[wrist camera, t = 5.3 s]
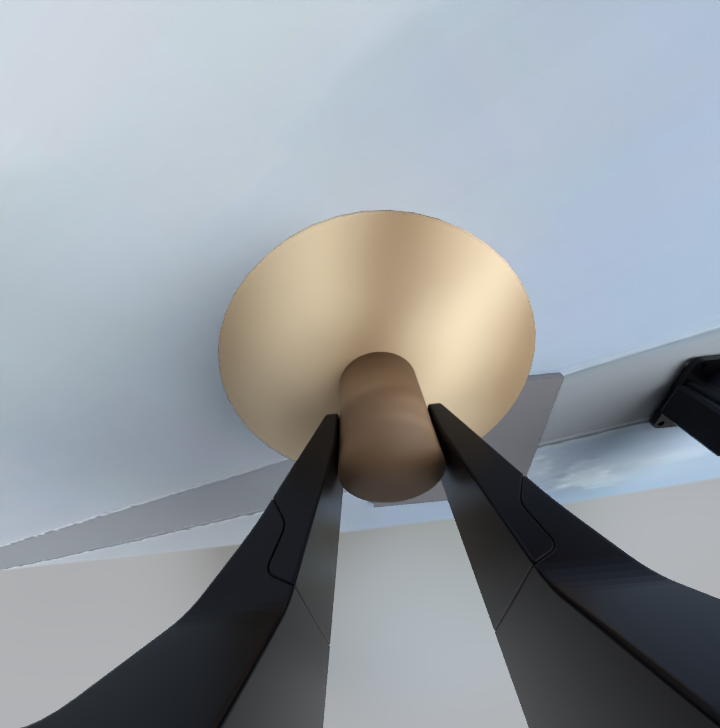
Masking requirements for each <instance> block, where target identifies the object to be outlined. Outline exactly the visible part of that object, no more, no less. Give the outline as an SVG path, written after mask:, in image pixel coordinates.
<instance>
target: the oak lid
mask: <svg viewBox="0 0 720 728" xmlns="http://www.w3.org/2000/svg"><path fill="white" fill-rule="evenodd" d="M534 351H535V325H534V316H533V312H532V309H531V305H530V302H529V299H528V296H527V294H526V292H525V290H524V288H523V286H522V284H521V282H520V280H519V278H518V277H517V276H516V274H515V273H514V272H513V270H512V269H511V268H510V266H509V265H508V264H507V262H506V261H505V260H504V259H503V258H502V257H500V256H499V255H498V254H497V253H496V252H495V251H494V250H493V249H492V248H491V247H490V246H488V245H487V244H485V243H484V242H482V241H481V240H479V239H478V238H476V237H474V236H473V235H471V234H470V233H468V232H466V231H464V230H462V229H460V228H458V227H455V226H453V225H451V224H449V223H446V222H444V221H442V220H439V219H437V218H433V217H429V216H425V215H421V214H417V213H413V212H403V211H393V210H378V211H361V212H356V213H351V214H346V215H341V216H336V217H333V218H330V219H328V220H325V221H322V222H319V223H316V224H314V225H311V226H309V227H308V228H306V229H304V230H302V231H300V232H298V233H296V234H294V235H293V236H291V237H289V238H288V239H287V240H285V241H284V242H283V243H281V244H280V245H278V246H277V247H276V248H274V249H273V250H272V251H271V252H270V253H269V254H268V255H267V256H266V257H265V258H264V259H263V260H262V261H261V262H260V263H259V264H258V265H257V266H256V267H255V268H254V269H253V270H252V271H251V272H250V273H249V274H248V276H247V277H246V278H245V280H244V281H243V283H242V284H241V285H240V287H239V288H238V290H237V291H236V293H235V294H234V296H233V299H232V301H231V303H230V305H229V307H228V309H227V311H226V314H225V317H224V320H223V324H222V327H221V331H220V339H219V348H218V355H219V369H220V374H221V378H222V383H223V386H224V389H225V391H226V394H227V396H228V399H229V401H230V403H231V404H232V406H233V408H234V410H235V411H236V413H237V415H238V416H239V417H240V419H241V420H242V421H243V423H244V424H245V425H246V426H247V427H248V428H249V429H250V430H251V431H252V432H253V433H254V434H255V435H256V436H257V437H258V438H259V439H260V440H261V441H263V442H264V443H265V444H266V445H268V446H269V447H270V448H272V449H273V450H275V451H277V452H278V453H280V454H281V455H283V456H285V457H287V458H289V459H291V460H293V461H295V462H296V461H297V459H298V458H299V456H300V455H301V453H302V451H303V450H304V448H305V447H306V445H307V444H308V442H309V440H310V439H311V437H312V436H313V434H314V433H315V431H316V429H317V428H318V426H319V425H320V423H321V421H322V420H323V418H324V417H325V415H327V414H334V413H337V414H338V415H339V452H338V478H339V481H340V483H341V485H342V486H343V487H344V489H345V490H347V491H348V492H349V493H350V494H352V495H354V496H356V497H358V498H361V499H363V500H367V501H372V502H381V503H389V502H399V501H404V500H408V499H412V498H415V497H417V496H420V495H422V494H424V493H425V492H427V491H429V490H430V489H432V488H433V487H434V486H435V485H436V484H437V483H438V482H439V481H440V480H441V478H442V477H443V475H444V472H445V468H446V462H445V458H444V455H443V452H442V449H441V446H440V443H439V440H438V438H437V435H436V432H435V429H434V426H433V423H432V420H431V417H430V415H429V412H428V405H429V404H432V403H441V404H443V405H444V406H445V407H446V408H447V409H448V410H450V411H451V412H452V413H453V414H454V415H455V416H457V417H458V418H459V419H460V420H461V421H462V422H463V423H465V424H466V425H467V426H468V427H469V428H470V429H472V430H473V431H474V432H475V433H476V434H477V435H479V436H480V437H481V438H482V437H483V436H484V435H486V434H487V433H488V432H489V431H490V430H491V429H492V428H493V427H494V426H496V425H497V424H498V423H499V421H500V420H501V419H502V418H503V417H504V416H505V415H506V413H507V412H508V411H509V410H510V408H511V407H512V405H513V404H514V402H515V401H516V400H517V398H518V396H519V394H520V392H521V391H522V389H523V387H524V385H525V383H526V380H527V377H528V375H529V372H530V369H531V365H532V361H533V356H534Z"/></svg>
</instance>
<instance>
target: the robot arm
mask: <svg viewBox="0 0 720 728" xmlns="http://www.w3.org/2000/svg"><path fill="white" fill-rule="evenodd" d="M428 412H429V415H430V417H431V420H432V423H433V426H434V429H435V432H436V435H437V438H438V440H439V443H440V446H441V449H442V452H443V455H444V458H445V462H446V468H445V472H444V475H443V477H442V478H441V482H442V485H443V488H444V490H445V493H446V496H447V499H448V502H449V504H450V507H451V510H452V513H453V516H454V518H455V521H456V524H457V527H458V529H459V532H460V535H461V538H462V541H463V544H464V546H465V549H466V552H467V555H468V557H469V560H470V563H471V566H472V569H473V571H474V574H475V577H476V580H477V583H478V586H479V589H480V591H481V594H482V597H483V600H484V603H485V605H486V608H487V611H488V614H489V617H490V619H491V622H492V625H493V628H494V630H495V634H496V636H497V639H498V642H499V645H500V648H501V650H502V653H503V656H504V659H505V662H506V664H507V667H508V670H509V673H510V676H511V679H512V682H513V684H514V687H515V690H516V693H517V695H518V698H519V701H520V704H521V707H522V710H523V712H524V715H525V718H526V721H527V724H528V726H529V728H720V599H718V598H715V597H713V596H710V595H708V594H705V593H702V592H700V591H697V590H695V589H692V588H690V587H687V586H685V585H682V584H680V583H677V582H675V581H672V580H670V579H668V578H666V577H664V576H662V575H660V574H658V573H656V572H654V571H653V570H651V569H649V568H648V567H646V566H644V565H643V564H641V563H640V562H638V561H637V560H635V559H634V558H632V557H631V556H629V555H628V554H626V553H625V552H624V551H622V550H621V549H620V548H618V547H617V546H616V545H614V544H613V543H612V542H610V541H609V540H607V539H606V538H604V537H603V536H602V535H601V534H599V533H598V532H597V531H595V530H594V529H592V528H591V527H590V526H588V525H587V524H585V523H584V522H583V521H581V520H580V519H579V518H577V517H576V516H575V515H573V514H572V513H571V512H569V511H568V510H566V509H565V508H564V507H563V506H562V505H560V504H559V503H558V502H556V501H555V500H554V499H552V498H551V497H550V496H549V495H548V494H546V493H545V492H544V491H543V490H542V489H540V488H539V487H538V486H537V485H536V484H534V483H533V482H532V481H531V480H530V479H529V478H527V477H526V476H523V473H521V472H520V471H519V470H518V469H517V468H516V467H514V466H513V465H512V464H511V463H510V462H509V461H508V460H506V459H505V458H504V457H503V456H502V455H501V454H499V453H498V452H497V451H496V450H495V449H494V448H492V447H491V446H490V445H489V444H488V443H487V442H485V441H484V440H483V439H482V438H481V437H480V436H479V435H477V434H476V433H475V432H474V431H473V430H472V429H470V428H469V427H468V426H467V425H466V424H465V423H463V422H462V421H461V420H460V419H459V418H458V417H457V416H455V415H454V414H453V413H452V412H451V411H450V410H448V409H447V408H446V407H445V406H444V405H443V404H441V403H432V404H429V405H428ZM650 424H651V425H652V426H653V427H655V428H664V427H674V426H678V427H680V428H681V429H682V430H684V431H685V432H686V433H688V434H689V435H690V436H692V437H693V438H694V439H695V440H697V441H698V442H699V443H701V444H702V445H703V446H705V447H706V448H707V449H709V450H710V451H711V452H712V453H714V454H715V455H717V456H720V355H716V356H707V357H699V358H696V359H693V360H692V361H691V362H690V363H689V364H688V365H687V367H686V368H685V370H684V371H683V373H682V374H681V376H680V377H679V379H678V380H677V381H676V383H675V384H674V386H673V387H672V389H671V390H670V392H669V393H668V395H667V396H666V398H665V399H664V401H663V402H662V404H661V405H660V407H659V408H658V410H657V411H656V413H655V414H654V416H653V417H652V419H651V420H650ZM338 452H339V415H338V414H337V413H334V414H327V415H325V417H324V418H323V420H322V421H321V423H320V425H319V426H318V428H317V429H316V431H315V433H314V434H313V436H312V437H311V439H310V440H309V442H308V444H307V445H306V447H305V448H304V450H303V451H302V453H301V455H300V456H299V458H298V459H297V461H296V463H295V464H294V466H293V467H292V469H291V470H290V472H289V474H288V475H287V477H286V478H285V480H284V481H283V483H282V485H281V486H280V488H279V489H278V491H277V493H276V494H275V496H274V497H273V499H274V500H271V502H270V503H269V505H268V507H267V508H266V510H265V511H264V513H263V514H262V516H261V517H260V519H259V520H258V522H257V523H256V525H255V526H254V528H253V529H252V530H251V532H250V533H249V535H248V536H247V537H246V539H245V540H244V541H243V543H242V544H241V545H240V547H239V548H238V549H237V551H236V552H235V553H234V555H233V556H232V557H231V558H230V560H229V561H228V562H227V563H226V565H225V566H224V567H223V569H222V570H221V571H220V573H219V574H218V575H217V576H216V578H215V579H214V581H213V582H212V583H211V584H210V585H209V587H208V588H207V589H206V591H205V592H204V593H203V594H202V596H201V597H200V598H199V599H198V601H197V602H196V603H195V604H194V605H193V606H192V607H191V609H189V611H187V612H186V613H185V614H184V616H183V617H181V618H180V619H179V620H178V621H177V622H176V623H175V624H174V625H172V626H171V627H170V628H168V629H167V630H166V631H164V632H163V633H162V634H161V635H159V636H158V637H156V638H155V639H154V640H152V641H151V642H150V643H148V644H147V645H146V646H144V647H143V648H142V649H140V650H139V651H138V652H136V653H135V654H134V655H132V656H131V657H130V658H128V659H127V660H126V661H124V662H123V663H122V664H120V665H119V666H118V667H116V668H115V669H114V670H112V671H111V672H110V673H108V674H107V675H106V676H104V677H103V678H102V679H100V680H99V681H98V682H96V683H95V684H94V685H92V686H91V687H89V688H88V689H87V690H86V691H84V692H83V693H82V694H80V695H79V696H78V697H76V698H75V699H73V700H72V701H70V702H69V703H68V704H66V705H65V706H63V707H62V708H60V709H59V710H57V711H56V712H54V713H52V714H51V715H49V716H47V717H46V718H43V719H42V720H40V721H38V722H35V723H33V724H31V725H29V726H26V727H23V728H323V720H324V707H325V697H326V685H327V673H328V661H329V649H330V646H329V644H330V636H331V625H332V612H333V601H334V589H335V577H336V565H337V553H338V541H339V529H340V518H341V506H342V494H343V486H342V485H341V483H340V481H339V478H338Z"/></svg>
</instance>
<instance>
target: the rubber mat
mask: <svg viewBox="0 0 720 728" xmlns="http://www.w3.org/2000/svg"><path fill="white" fill-rule="evenodd" d="M563 379H564V376H563V375H562V374H561V373H552V374H543V375H533V376H528V377H527V380H526V383H525V385H524V387H523V389H522V391H521V392H520V394H519V396H518V398H517V400H516V401H515V402H514V404H513V405H512V407H511V408H510V410H509V411H508V412H507V413H506V415H505V416H504V417H503V418H502V419H501V420H500V421H499V423H498V424H497V425H496V426H494V427H493V428H492V429H491V430H490V431H489V432H488V433H487V434H486V435H484V436H483V437H482V439H483V440H484V441H485V442H487V443H488V444H489V445H490V446H491V447H492V448H494V449H495V450H496V451H497V452H498V453H499V454H501V455H502V456H503V457H504V458H505V459H506V460H508V461H509V462H510V463H511V464H512V465H513V466H514V467H516V468H517V469H518V470H519V471H520V472H521V473H523V476H526V475H527V472H528V470H529V467H530V465H531V462H532V459H533V457H534V454H535V452H536V449H537V447H538V444H539V441H540V439H541V436H542V434H543V431H544V428H545V426H546V423H547V421H548V418H549V415H550V413H551V410H552V408H553V405H554V402H555V400H556V397H557V395H558V392H559V389H560V387H561V384H562V382H563ZM445 500H448V499H447V496H446V493H445V490H444V488H443V485H442V482H441V480H440V481H439V482H438V483H437V484H436V485H435V486H434V487H433V488H432V489H430V490H429V491H427V492H425V493H424V494H422V495H420V496H417V497H415V498H412V499H408V500H404V501H399V502H389V503H381V502H374V507H382V506H393V505H403V504H414V503H424V502H434V501H445Z"/></svg>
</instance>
